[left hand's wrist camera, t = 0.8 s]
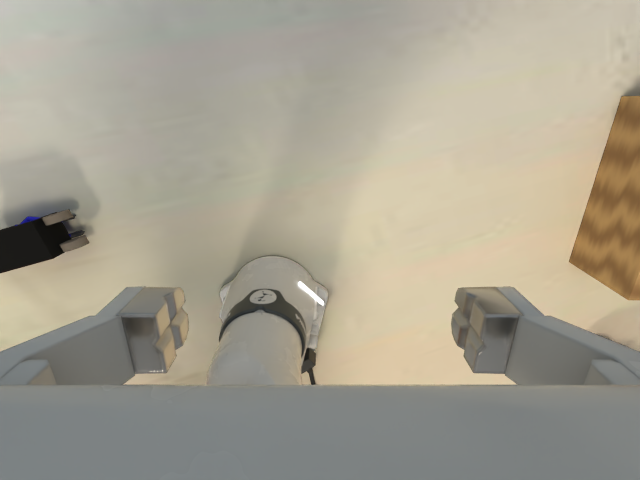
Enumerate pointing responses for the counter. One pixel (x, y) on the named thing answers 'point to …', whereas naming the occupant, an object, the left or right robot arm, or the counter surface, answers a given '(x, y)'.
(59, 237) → the figurine character
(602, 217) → the box
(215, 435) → the left robot arm
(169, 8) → the counter surface
